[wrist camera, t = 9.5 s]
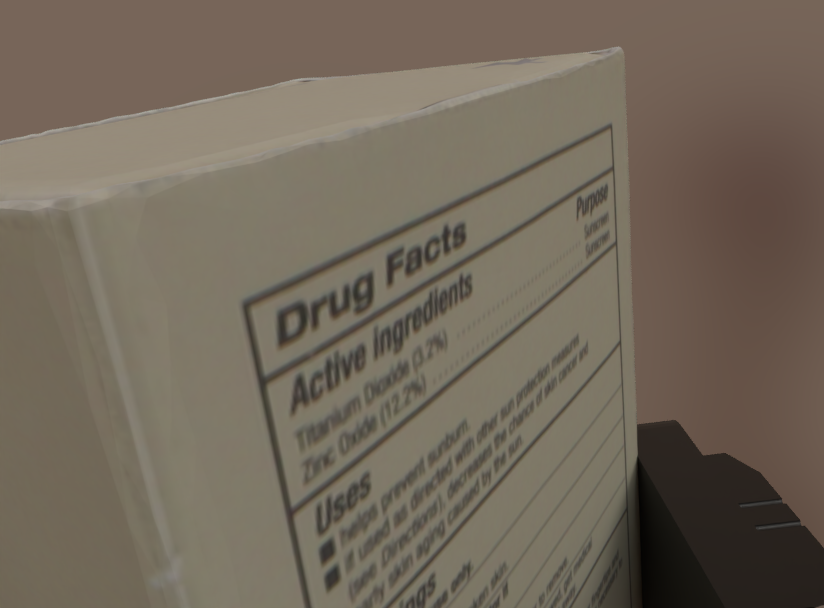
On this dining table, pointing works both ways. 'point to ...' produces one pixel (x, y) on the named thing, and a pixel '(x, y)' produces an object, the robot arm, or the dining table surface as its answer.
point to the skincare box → (326, 347)
